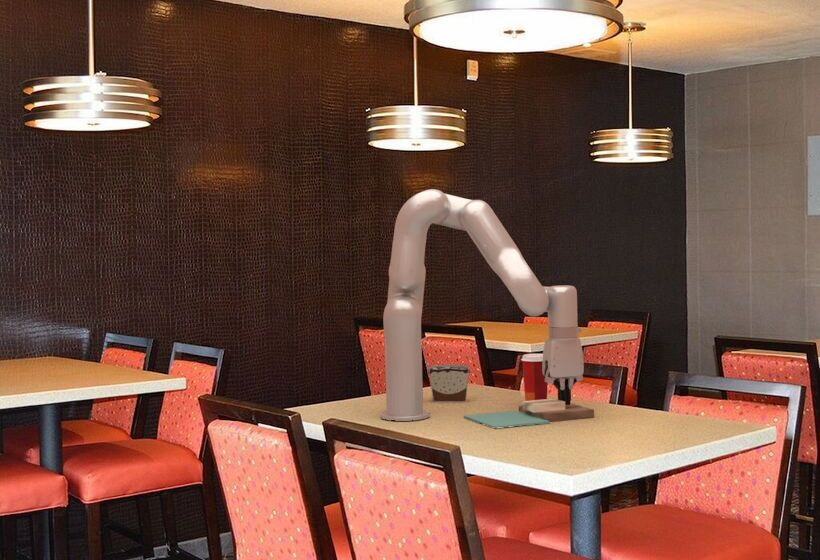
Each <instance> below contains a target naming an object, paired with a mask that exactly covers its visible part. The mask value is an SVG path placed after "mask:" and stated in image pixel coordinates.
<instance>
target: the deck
mask: <svg viewBox="0 0 820 560" xmlns="http://www.w3.org/2000/svg"><path fill="white" fill-rule="evenodd" d="M518 412H521V413H525V414H528V415H531V416H534V417H538V418H541V419H544V420H547V421H550V423H552V422H554V423H555V422H561V421H563V422H564V421H572V420H584V419H594V418H595V409H593V408H589V407H585V406H582V405H578V404H575V403H571V402H570V405H565V410H556V411H545V412H536V413H534V412H530V411H527V410H524V409H523V405H521V406H518Z"/></svg>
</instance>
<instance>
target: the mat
mask: <svg viewBox="0 0 820 560" xmlns="http://www.w3.org/2000/svg"><path fill="white" fill-rule="evenodd" d="M463 419H465V420H469V421H471V420H472V421H471V422H474V421H475V422H474V423H476V422H478V423H477V424H479V423H482V424H485V425H488V426H491V427H494V428H497V427H509V426H521V427H523V426H522V425H531V426H536V425H535V424H541V425H549V424H550V423H551V422H550V421H547V420H544V419H541V418H538V417H534V416H531V415H528V414H525V413H521V412H519V410H509V411H498V412H489V413H487V412H486V413H478V414H477V413H476V414H466V415H463ZM482 424H481V425H482ZM485 425H484V426H485ZM488 426H487V427H488Z"/></svg>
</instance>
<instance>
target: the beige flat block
mask: <svg viewBox="0 0 820 560" xmlns="http://www.w3.org/2000/svg"><path fill="white" fill-rule="evenodd" d="M522 406H523V409H524V410H527V411H530V412H534V413H536V412H545V411H556V410H565V402H564V401H561V400H558V398H557V399H556V398H547V399H543V400H532V401H525V400H523V401H522Z"/></svg>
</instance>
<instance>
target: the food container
mask: <svg viewBox="0 0 820 560" xmlns="http://www.w3.org/2000/svg"><path fill="white" fill-rule="evenodd" d="M426 373H427V374H426V375H429V380H430V386H431V388H430V389H431V396H432V402H433V403H467V395H468V382H469V374H470V375H471V370H470V367H469V365H466V364H438V365H437V364H435V365H431V366H429V367H428V369H427V372H426Z"/></svg>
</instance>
